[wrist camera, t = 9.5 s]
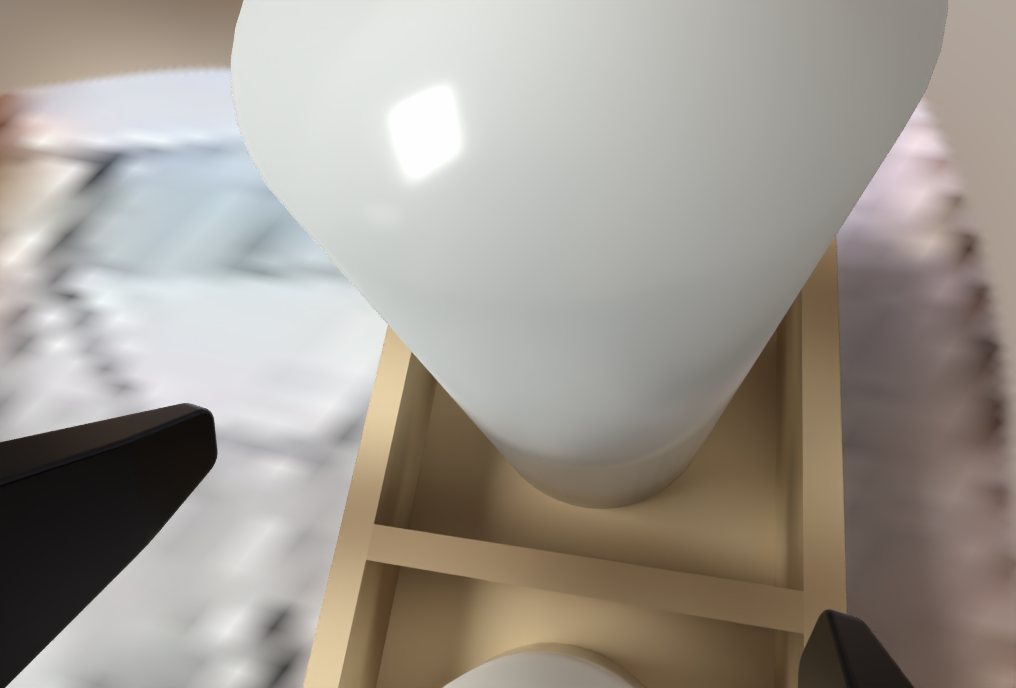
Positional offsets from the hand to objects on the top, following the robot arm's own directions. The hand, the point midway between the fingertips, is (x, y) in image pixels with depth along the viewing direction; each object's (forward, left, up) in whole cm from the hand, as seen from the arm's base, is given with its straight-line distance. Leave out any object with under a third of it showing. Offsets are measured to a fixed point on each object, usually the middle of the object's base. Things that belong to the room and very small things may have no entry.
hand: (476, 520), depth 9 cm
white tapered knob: (+4, -1, -8) cm, 9 cm away
